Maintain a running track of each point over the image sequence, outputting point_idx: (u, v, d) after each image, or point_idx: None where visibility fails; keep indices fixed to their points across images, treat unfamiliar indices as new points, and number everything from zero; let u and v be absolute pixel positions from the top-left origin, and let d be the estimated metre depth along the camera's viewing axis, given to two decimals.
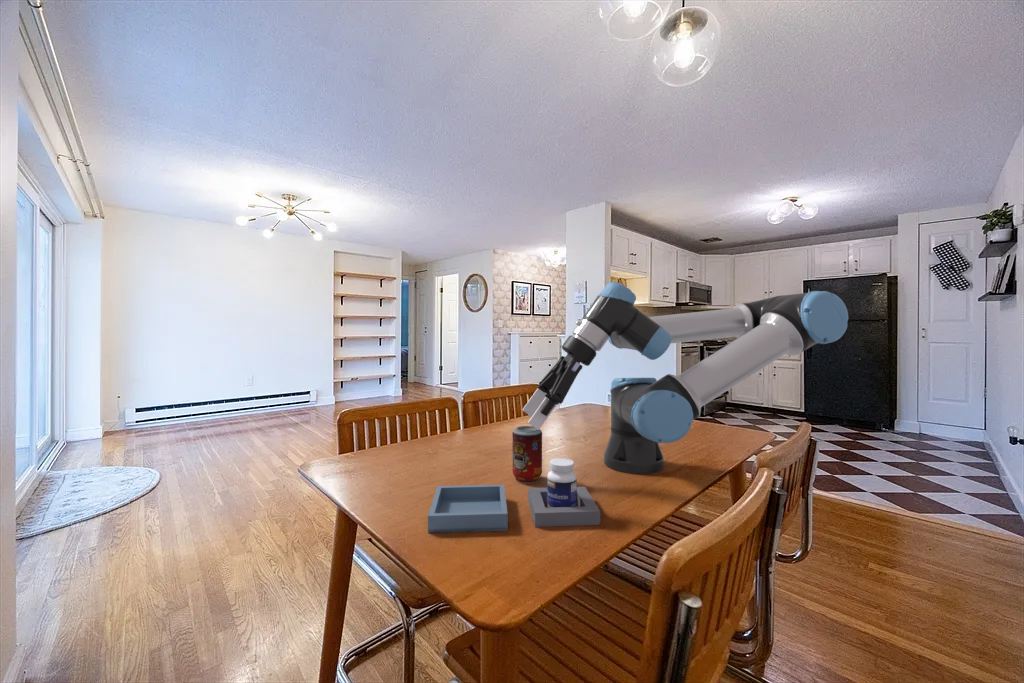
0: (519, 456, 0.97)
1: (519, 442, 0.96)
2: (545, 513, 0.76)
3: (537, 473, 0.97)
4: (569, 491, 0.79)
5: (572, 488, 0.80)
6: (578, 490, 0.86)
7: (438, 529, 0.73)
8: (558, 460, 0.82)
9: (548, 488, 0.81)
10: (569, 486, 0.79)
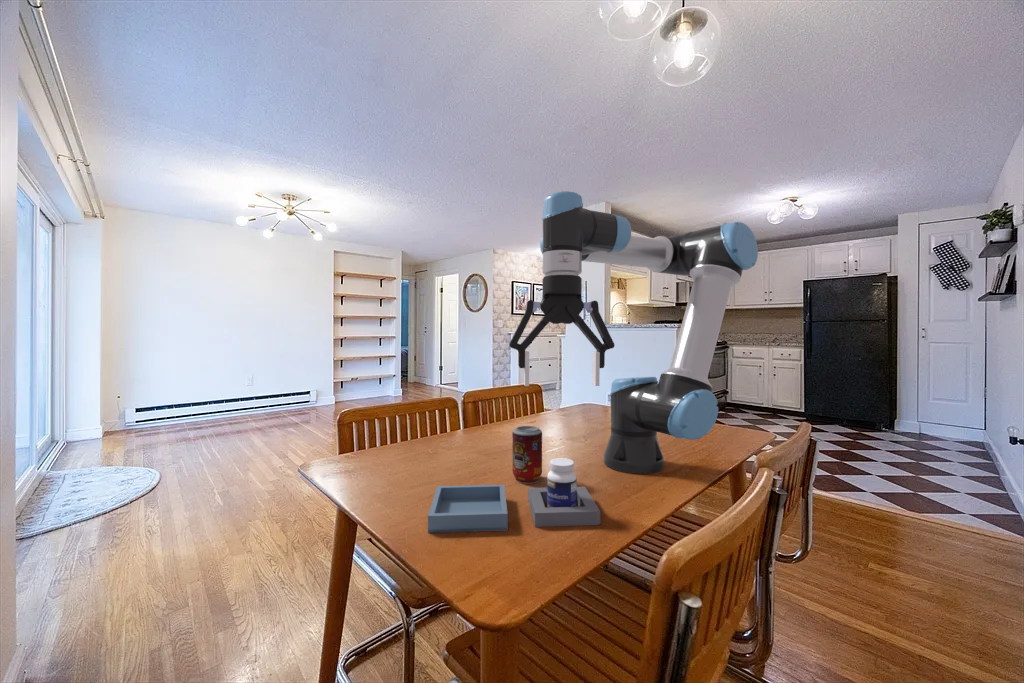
0: (519, 456, 0.97)
1: (519, 442, 0.96)
2: (545, 513, 0.76)
3: (537, 473, 0.97)
4: (569, 491, 0.79)
5: (572, 488, 0.80)
6: (578, 490, 0.86)
7: (438, 529, 0.73)
8: (558, 460, 0.82)
9: (548, 488, 0.81)
10: (569, 486, 0.79)
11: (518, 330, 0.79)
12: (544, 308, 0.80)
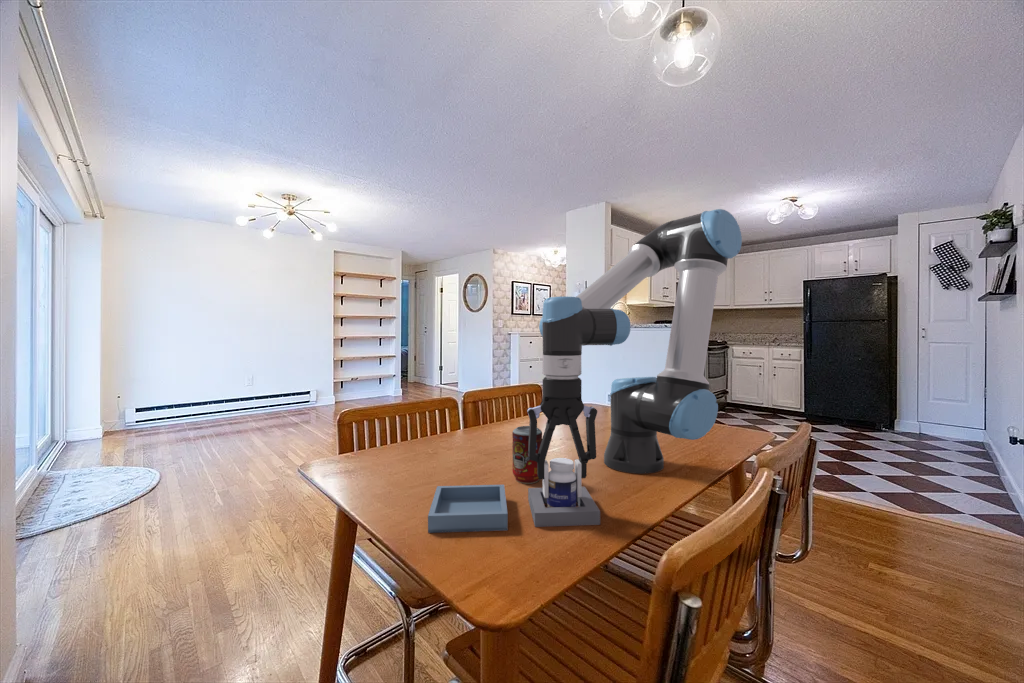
0: (519, 456, 0.97)
1: (519, 442, 0.96)
2: (545, 513, 0.76)
3: None
4: (569, 491, 0.79)
5: (572, 488, 0.80)
6: None
7: (438, 529, 0.73)
8: (558, 460, 0.82)
9: (548, 488, 0.81)
10: (569, 486, 0.79)
11: (531, 442, 0.80)
12: (546, 411, 0.80)
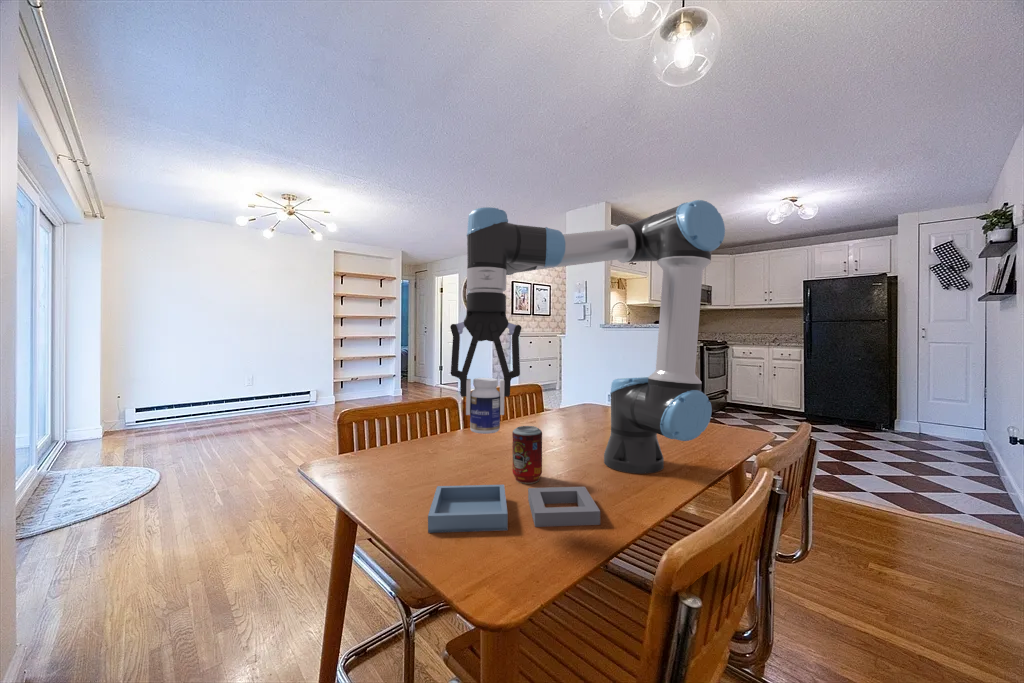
0: (519, 456, 0.97)
1: (519, 442, 0.96)
2: (545, 513, 0.76)
3: (537, 473, 0.97)
4: (491, 407, 0.78)
5: (494, 405, 0.78)
6: (578, 490, 0.86)
7: (438, 529, 0.73)
8: (482, 378, 0.81)
9: (470, 405, 0.79)
10: (490, 402, 0.77)
11: (453, 357, 0.78)
12: (469, 326, 0.79)
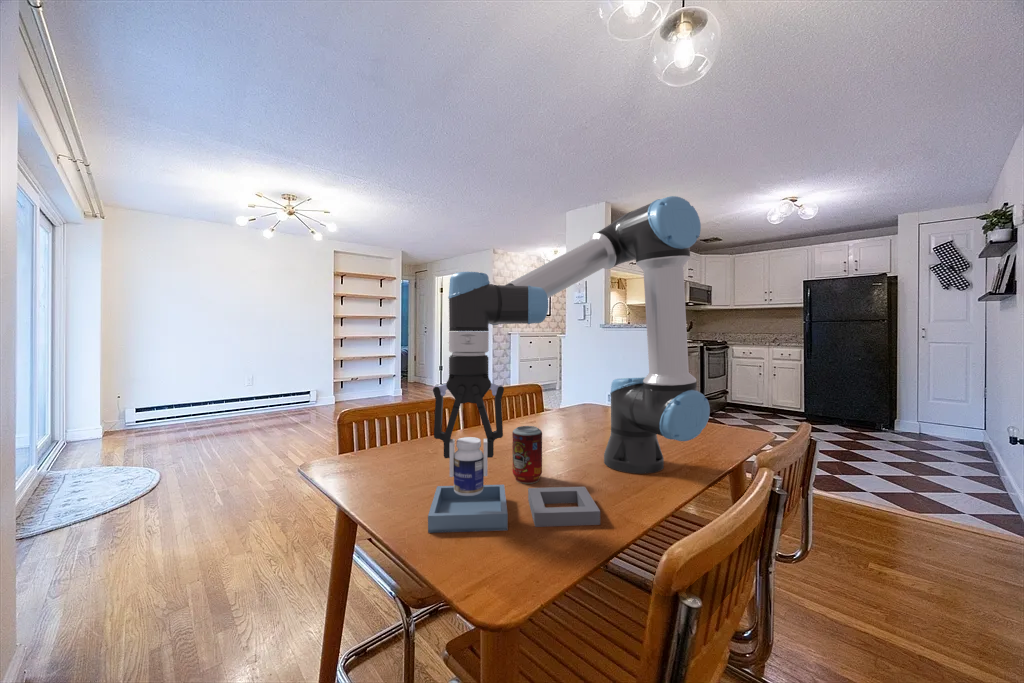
0: (519, 456, 0.97)
1: (519, 442, 0.96)
2: (545, 513, 0.76)
3: (537, 473, 0.97)
4: (473, 470, 0.78)
5: (477, 467, 0.78)
6: (578, 490, 0.86)
7: (438, 529, 0.73)
8: (465, 439, 0.81)
9: (454, 467, 0.80)
10: (473, 465, 0.78)
11: (436, 420, 0.79)
12: (451, 388, 0.79)
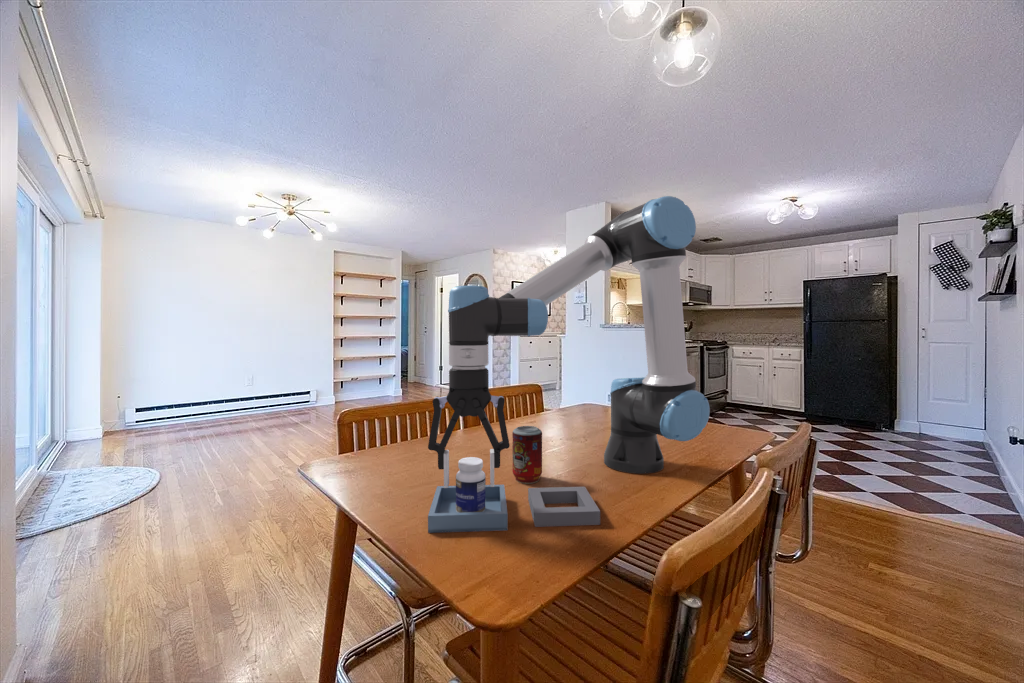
0: (519, 456, 0.97)
1: (519, 442, 0.96)
2: (545, 513, 0.76)
3: (537, 473, 0.97)
4: (475, 491, 0.78)
5: (479, 488, 0.78)
6: (578, 490, 0.86)
7: (438, 529, 0.73)
8: (467, 459, 0.81)
9: (456, 488, 0.80)
10: (475, 486, 0.78)
11: (432, 431, 0.79)
12: (451, 402, 0.79)
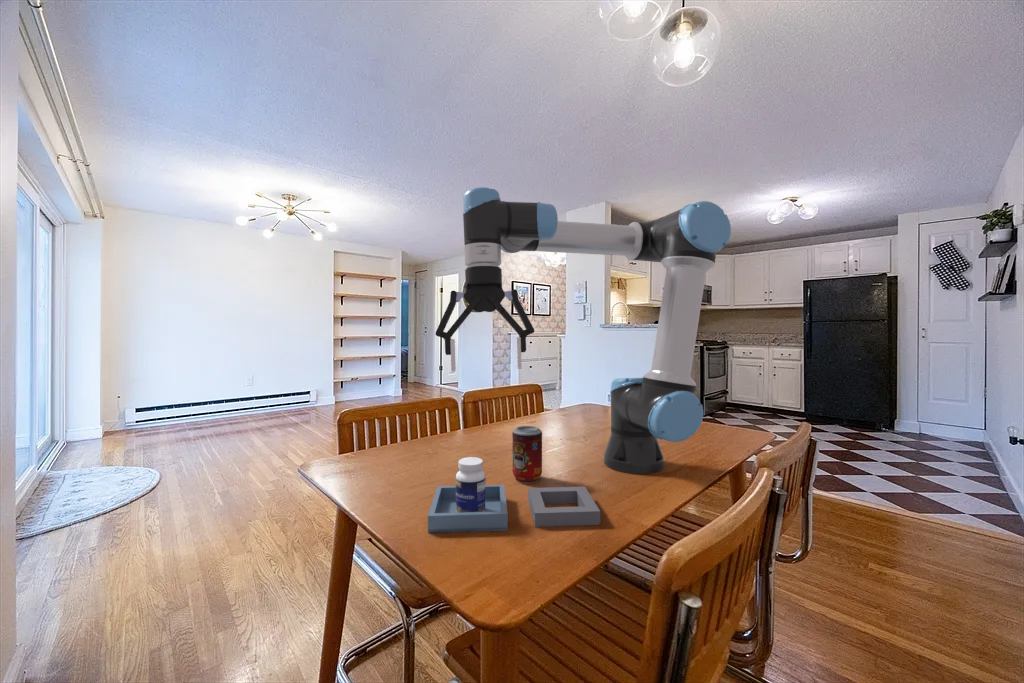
0: (519, 456, 0.97)
1: (519, 442, 0.96)
2: (545, 513, 0.76)
3: (537, 473, 0.97)
4: (475, 491, 0.78)
5: (479, 488, 0.78)
6: (578, 490, 0.86)
7: (438, 529, 0.73)
8: (467, 459, 0.81)
9: (456, 488, 0.80)
10: (475, 486, 0.78)
11: (443, 319, 0.85)
12: (467, 298, 0.85)
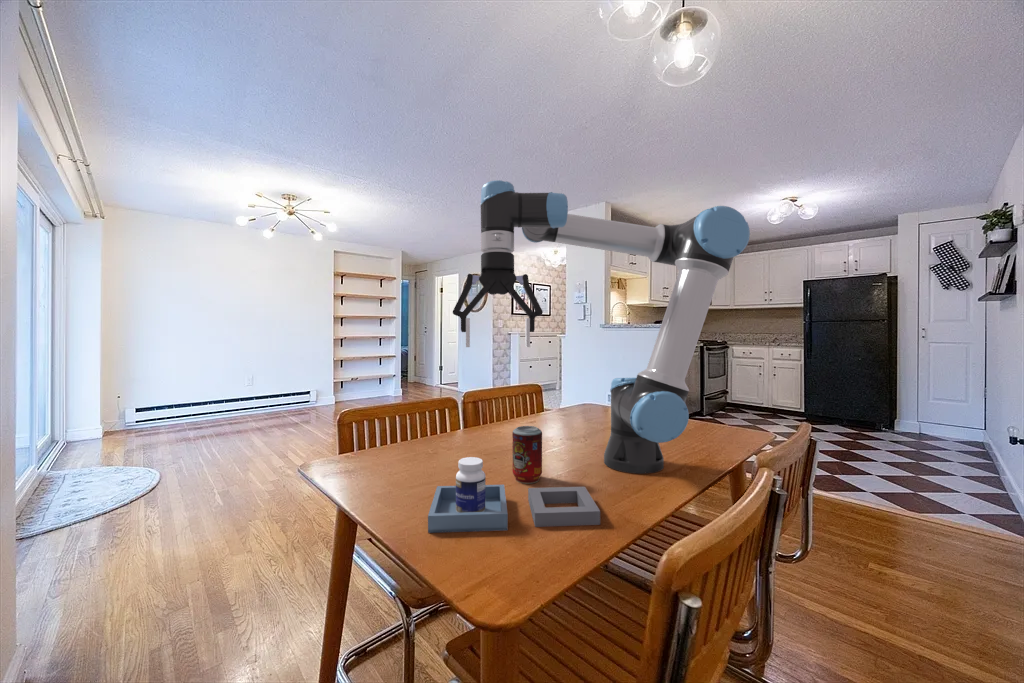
0: (519, 456, 0.97)
1: (519, 442, 0.96)
2: (545, 513, 0.76)
3: (537, 473, 0.97)
4: (475, 491, 0.78)
5: (479, 488, 0.78)
6: (578, 490, 0.86)
7: (438, 529, 0.73)
8: (467, 459, 0.81)
9: (456, 488, 0.80)
10: (475, 486, 0.78)
11: (459, 299, 0.93)
12: (482, 280, 0.94)
